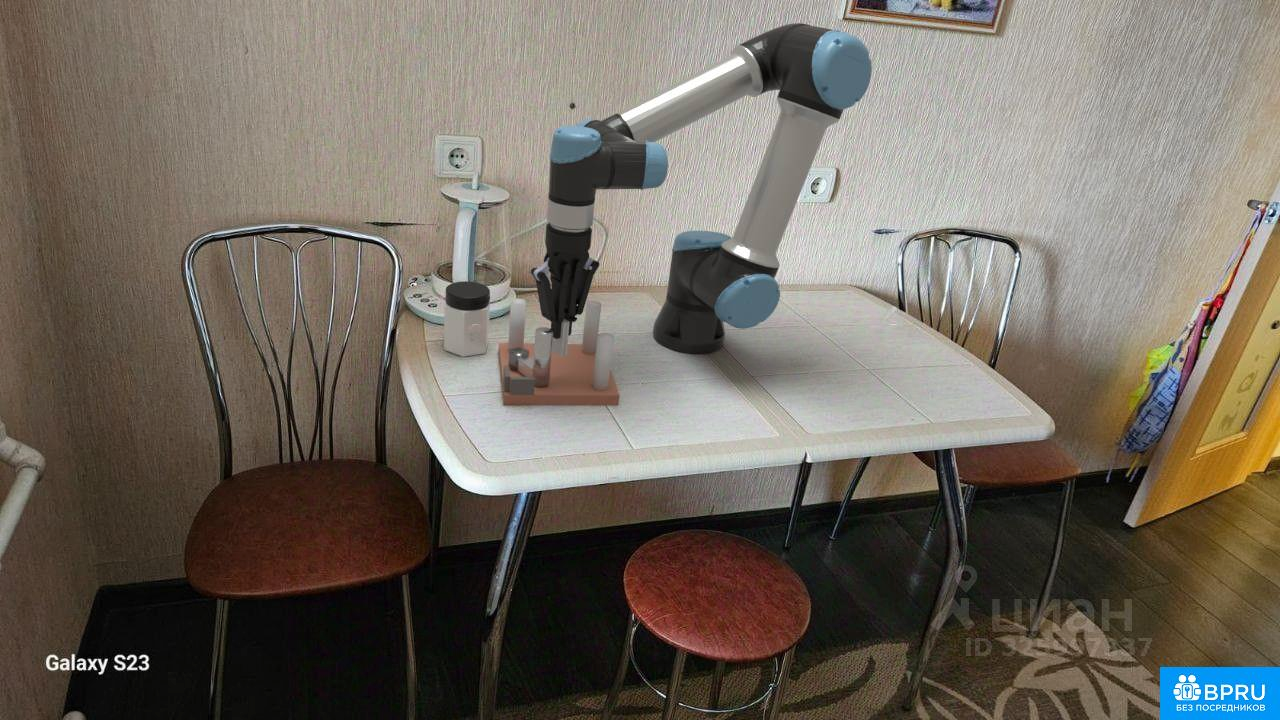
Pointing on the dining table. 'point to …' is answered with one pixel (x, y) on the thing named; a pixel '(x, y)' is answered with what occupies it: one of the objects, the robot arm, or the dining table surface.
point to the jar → (466, 318)
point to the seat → (562, 366)
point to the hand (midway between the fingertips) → (559, 352)
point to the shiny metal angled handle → (535, 358)
